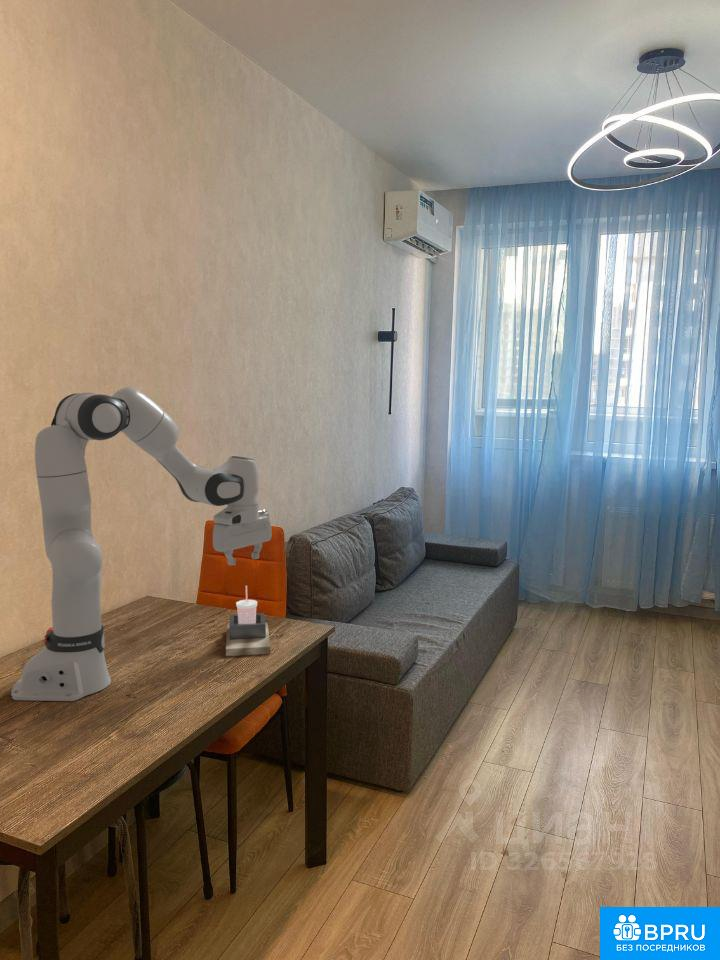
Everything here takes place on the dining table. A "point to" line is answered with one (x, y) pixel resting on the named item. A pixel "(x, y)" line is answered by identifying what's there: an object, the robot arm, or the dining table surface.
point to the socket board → (247, 645)
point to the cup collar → (247, 628)
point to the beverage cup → (246, 611)
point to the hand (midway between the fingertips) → (243, 561)
